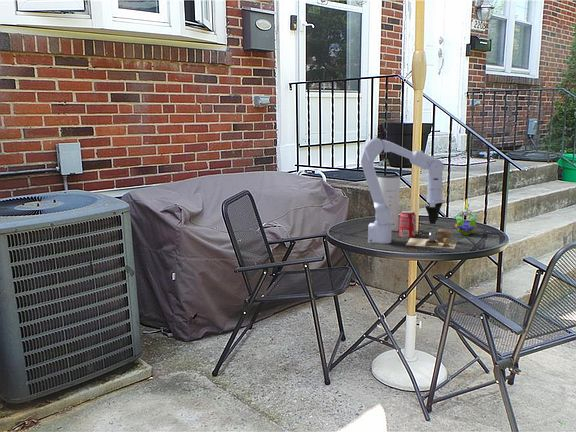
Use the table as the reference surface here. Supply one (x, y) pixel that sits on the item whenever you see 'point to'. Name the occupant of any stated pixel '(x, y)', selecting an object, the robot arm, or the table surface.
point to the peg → (431, 237)
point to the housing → (443, 235)
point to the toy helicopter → (466, 226)
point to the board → (426, 243)
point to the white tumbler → (391, 197)
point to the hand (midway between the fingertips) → (433, 221)
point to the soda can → (407, 223)
